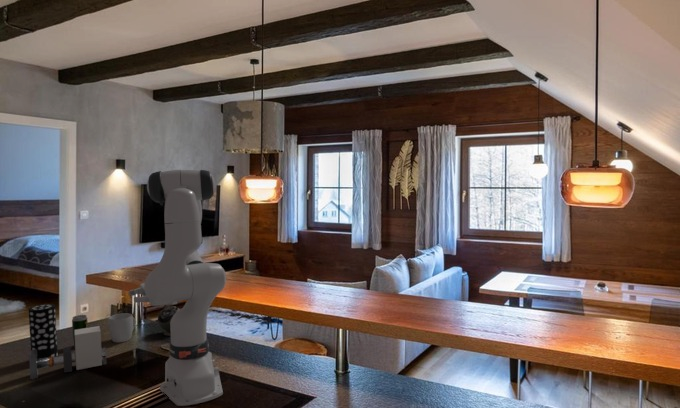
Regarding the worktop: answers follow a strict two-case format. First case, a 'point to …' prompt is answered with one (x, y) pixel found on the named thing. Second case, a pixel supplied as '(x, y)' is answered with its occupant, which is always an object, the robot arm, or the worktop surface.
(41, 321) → the white-spotted black cylinder
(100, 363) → the notched block
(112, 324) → the mug
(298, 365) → the worktop surface
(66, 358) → the charcoal grey box
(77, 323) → the beer can
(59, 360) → the pipe
